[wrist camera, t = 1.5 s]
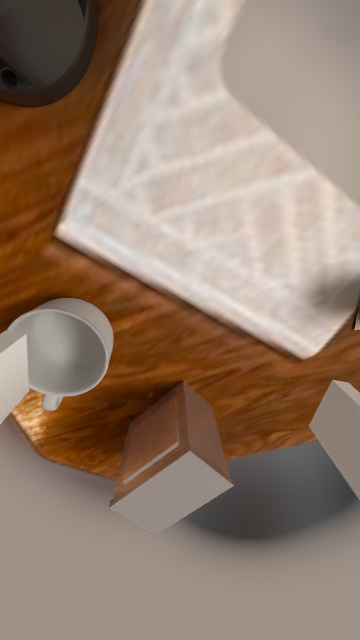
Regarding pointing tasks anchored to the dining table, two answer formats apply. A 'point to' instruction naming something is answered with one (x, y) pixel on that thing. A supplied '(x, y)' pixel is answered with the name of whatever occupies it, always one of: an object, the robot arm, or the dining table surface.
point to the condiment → (358, 319)
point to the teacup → (65, 348)
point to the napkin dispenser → (170, 462)
